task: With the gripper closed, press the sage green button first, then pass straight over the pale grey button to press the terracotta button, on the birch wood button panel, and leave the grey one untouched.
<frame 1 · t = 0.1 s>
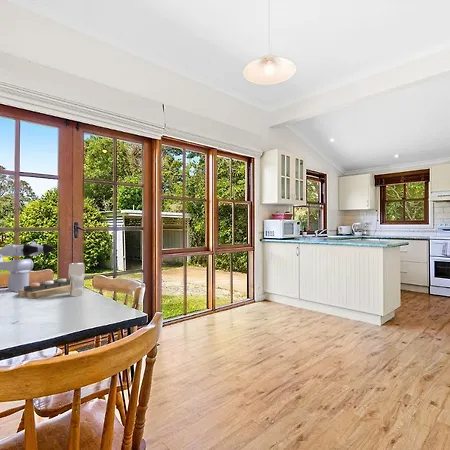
hand: (45, 249, 149), 22 cm above the table, tool horizontal, fingers open, 7 cm apart
button grey: (48, 283, 152), point 5 cm above the table, slide at 0.0 cm
beer glass: (76, 295, 147), on the table
button green: (62, 280, 158), point 5 cm above the table, slide at 0.0 cm
button panel: (48, 292, 151), on the table
button terracotta: (34, 285, 145), point 5 cm above the table, slide at 0.0 cm
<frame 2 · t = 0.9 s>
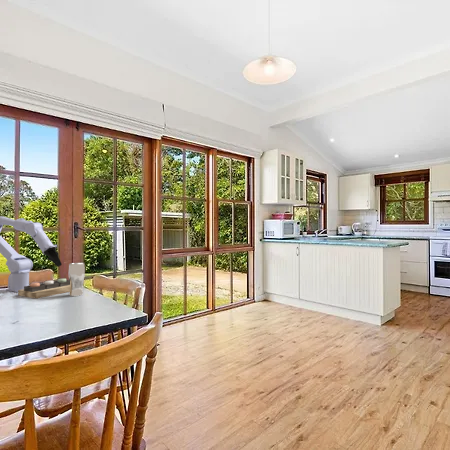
hand: (58, 263, 153), 14 cm above the table, tool tilted 40°, fingers open, 7 cm apart
nothing on the table moved.
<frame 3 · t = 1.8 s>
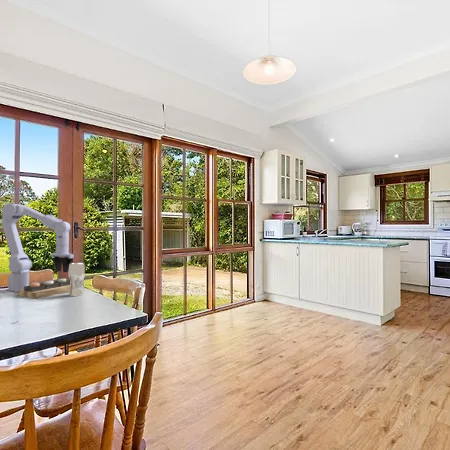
hand: (62, 271, 158), 9 cm above the table, tool pointing down, fingers open, 5 cm apart
nothing on the table moved.
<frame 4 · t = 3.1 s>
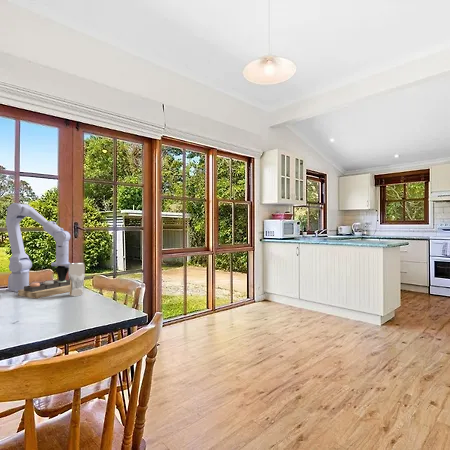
hand: (62, 281, 158), 5 cm above the table, tool pointing down, fingers closed, pressing on button green
button green: (62, 282, 158), point 4 cm above the table, slide at 1.0 cm, touching gripper
everything else where it was.
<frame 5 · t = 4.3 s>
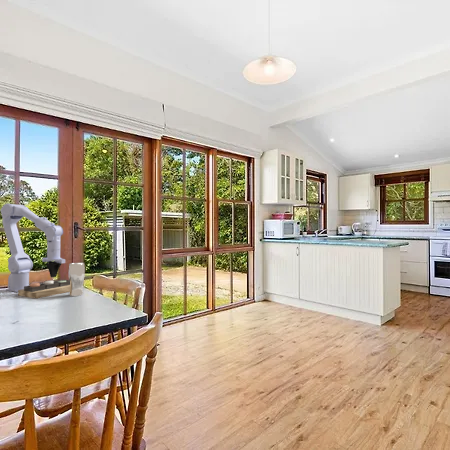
hand: (53, 277, 154), 7 cm above the table, tool pointing down, fingers closed
button green: (62, 283, 158), point 4 cm above the table, slide at 1.1 cm
everything else where it was.
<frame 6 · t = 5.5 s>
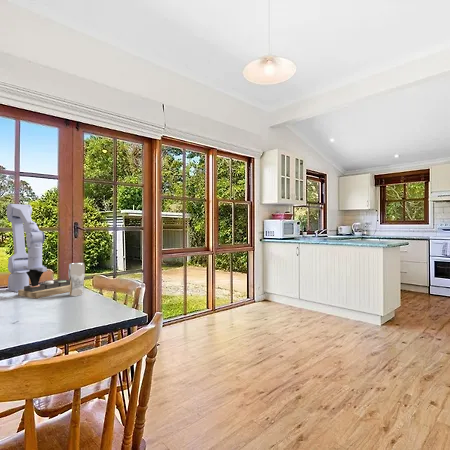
hand: (34, 286, 145), 4 cm above the table, tool pointing down, fingers closed, pressing on button terracotta
button terracotta: (34, 287, 145), point 4 cm above the table, slide at 1.1 cm, touching gripper
everything else where it was.
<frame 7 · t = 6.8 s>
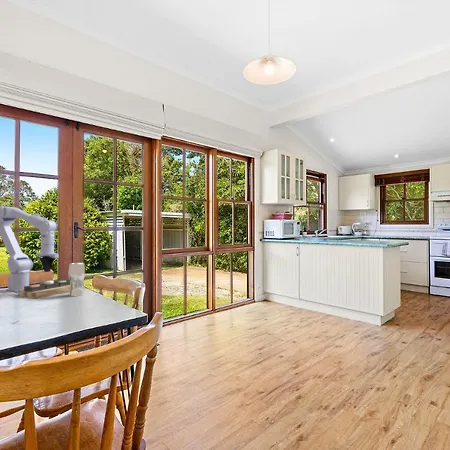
hand: (47, 271, 154), 10 cm above the table, tool pointing down, fingers closed
button terracotta: (34, 287, 145), point 4 cm above the table, slide at 1.1 cm
everything else where it was.
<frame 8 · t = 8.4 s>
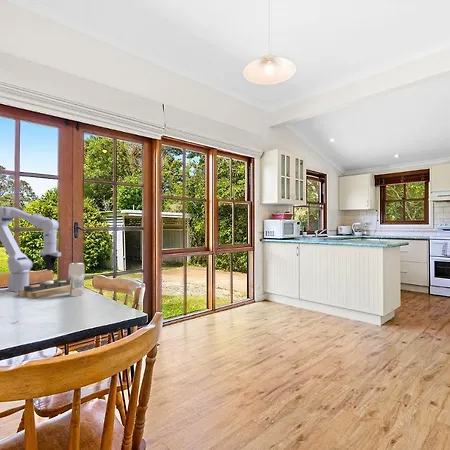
hand: (49, 270, 156), 10 cm above the table, tool pointing down, fingers closed
nothing on the table moved.
at the end: button green slide at 1.1 cm; button terracotta slide at 1.1 cm; button grey slide at 0.0 cm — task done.
